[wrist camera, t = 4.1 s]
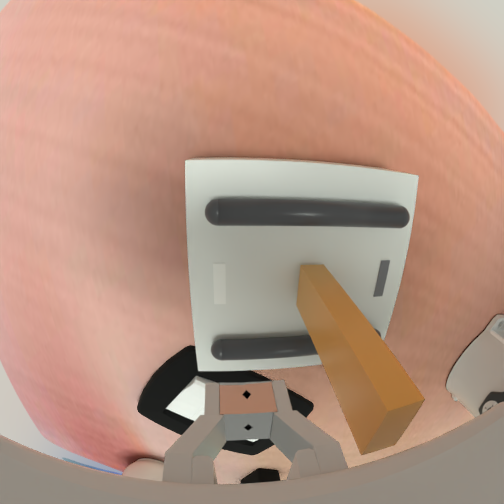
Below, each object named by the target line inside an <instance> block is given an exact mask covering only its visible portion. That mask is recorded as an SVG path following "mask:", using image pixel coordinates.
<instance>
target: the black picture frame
mask: <svg viewBox="0 0 504 504" xmlns="http://www.w3.org/2000/svg"><path fill="white" fill-rule="evenodd" d="M259 381H272V380H270V379H268V378H266V377H264V376H262V375H259V374H257V373H255V372H253V371H251V370H245V371H198V365H197V357H196V348H195V346H187V347H185V348H184V349H182V350H181V351H180V352H178V353H177V354H176V355H174V356H173V357H171V358H170V359H169V360H167V361H166V362H165V363H164V364H163V365H162V366H161V367H160V368H159V369H158V370H157V371H156V372H155V373H154V375H153V376H152V378H151V379H150V381H149V382H148V384H147V385H146V387H145V388H144V390H143V393H142V395H141V397H140V400H139V402H138V406H137V410H138V412H139V413H140V414H142V415H143V416H145V417H147V418H148V419H150V420H152V421H154V422H155V423H157V424H159V425H161V426H163V427H165V428H167V429H169V430H172V431H174V432H176V433H178V434H180V435H182V434H183V433H184V432H185V431H186V430H187V429H188V428H189V427H190V426H191V425H192V424H193V423H194V421H195V420H196V419H197V418H198V417H199V416H200V415H204V407H205V385H206V383H245V382H259ZM287 391H288V395H289V399H290V403H291V406H292V410H293V411H294V410H297V411H298V412H299V413H300V414H302V415H303V416H304V417H307V416H308V415H309V414H310V413H311V411H312V410H313V407H314V406H313V403H312V402H310V401H308V400H307V399H305V398H303V397H302V396H300V395H298V394H297V393H295V392H293V391H291V390H289V389H287ZM273 445H274V443H273V442H272V441H271V440H270V439H248V440H231V441H226V443H225V444H224V446H223V447H222V449H224V450H228V451H232V452H237V453H242V454H248V455H256V454H258V453H260V452H262V451H264V450H266V449H267V448H269V447H271V446H273Z"/></svg>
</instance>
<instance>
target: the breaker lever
mask: <svg viewBox="0 0 504 504" xmlns="http://www.w3.org/2000/svg"><path fill="white" fill-rule="evenodd" d="M296 306H297V308H298V310H299V312H300V314H301V317H302V319H303V321H304V323H305V326H306V328H307V330H308V332H309V335H310V337H311V339H312V341H313V344H314V346H315V348H316V351H317V353H318V355H319V357H320V360H321V362H322V364H323V366H324V369H325V371H326V373H327V376H328V378H329V380H330V383H331V385H332V387H333V390H334V392H335V394H336V397H337V399H338V401H339V404H340V406H341V408H342V411H343V413H344V415H345V418H346V420H347V422H348V425H349V427H350V430H351V432H352V434H353V437H354V439H355V442H356V444H357V446H358V449H359V451H360V454H361V455H364V454H367V453H371V452H374V451H378V450H381V449H384V448H387V447H390V446H393V445H395V444H396V443H397V441H398V440H399V439H400V437H401V436H402V434H403V433H404V431H405V430H406V428H407V427H408V426H409V424H410V422H411V421H412V419H413V418H414V416H415V415H416V413H417V412H418V410H419V408H420V407H421V405H422V403H423V402H424V400H425V399H424V397H423V396H422V394H421V393H420V391H419V390H418V388H417V387H416V386H415V384H414V383H413V381H412V380H411V378H410V377H409V376H408V374H407V373H406V371H405V370H404V369H403V367H402V366H401V364H400V363H399V362H398V360H397V359H396V358H395V356H394V355H393V353H392V352H391V351H390V349H389V348H388V347H387V345H386V344H385V343H384V341H383V340H382V339H381V337H380V336H379V335H378V333H377V332H376V331H375V329H374V328H373V327H372V325H371V324H370V323H369V321H368V320H367V319H366V317H365V316H364V315H363V314H362V312H361V311H360V310H359V308H358V307H357V306H356V304H355V303H354V302H353V301H352V299H351V298H350V297H349V296H348V294H347V293H346V292H345V290H344V289H343V288H342V287H341V285H340V284H339V283H338V282H337V280H336V279H335V278H334V277H333V275H332V274H331V273H330V272H329V271H328V269H327V268H326V267H325V266H324V264H322V265H300V275H299V284H298V293H297V302H296Z"/></svg>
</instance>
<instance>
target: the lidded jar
mask: <svg viewBox="0 0 504 504" xmlns="http://www.w3.org/2000/svg"><path fill="white" fill-rule="evenodd" d="M163 469H164V462H162V461H159V460H155V459H150V458H141V459H138V460H137V461H136V462H134V463H132V464H130V465H129V466H127V467H126V469H125V470H124V472H123V473H122V475H123V476H128V477H134V478H140V479H147V480H155V481H162V478H163Z"/></svg>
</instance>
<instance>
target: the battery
mask: <svg viewBox="0 0 504 504" xmlns="http://www.w3.org/2000/svg"><path fill="white" fill-rule="evenodd" d="M273 481H280V477H279V472H278V471H275V470H265V469H258V470H256V471H255V472H253V473H252V474H250V475H249V476H247V477H246V478H244V479H243V480H241V484H247V483H262V482H273Z"/></svg>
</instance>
